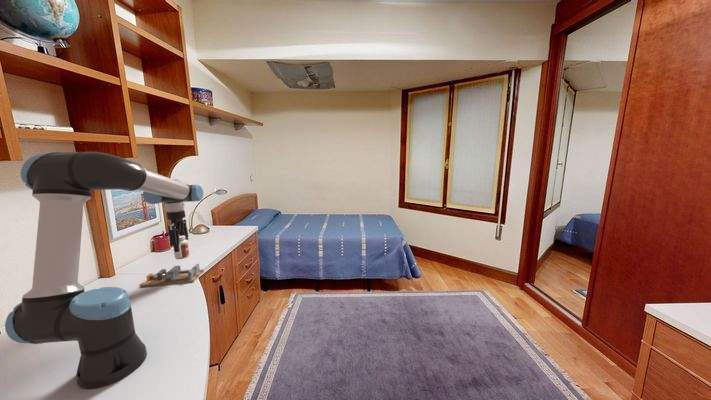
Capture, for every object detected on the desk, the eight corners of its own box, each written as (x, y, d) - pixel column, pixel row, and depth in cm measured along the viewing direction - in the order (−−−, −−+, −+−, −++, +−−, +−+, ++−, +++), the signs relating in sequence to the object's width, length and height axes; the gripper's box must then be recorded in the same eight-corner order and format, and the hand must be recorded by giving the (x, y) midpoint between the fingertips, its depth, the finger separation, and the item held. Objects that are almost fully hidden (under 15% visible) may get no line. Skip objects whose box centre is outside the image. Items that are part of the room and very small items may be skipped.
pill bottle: (189, 257, 131) (186, 237, 129) (175, 260, 128) (171, 239, 126) (189, 254, 136) (186, 234, 134) (175, 257, 133) (172, 236, 131)
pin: (163, 278, 130) (163, 274, 130) (146, 280, 129) (146, 276, 129) (167, 276, 133) (166, 272, 133) (150, 277, 132) (149, 273, 132)
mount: (193, 282, 128) (192, 272, 128) (140, 287, 124) (138, 277, 123) (203, 271, 141) (202, 262, 140) (155, 275, 137) (154, 266, 136)
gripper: (174, 214, 119) (181, 261, 123) (192, 206, 138) (197, 247, 142) (156, 215, 118) (163, 263, 122) (176, 207, 136) (182, 249, 140)
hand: (181, 254), depth 132 cm, fingers closed on pill bottle, 6 cm apart
